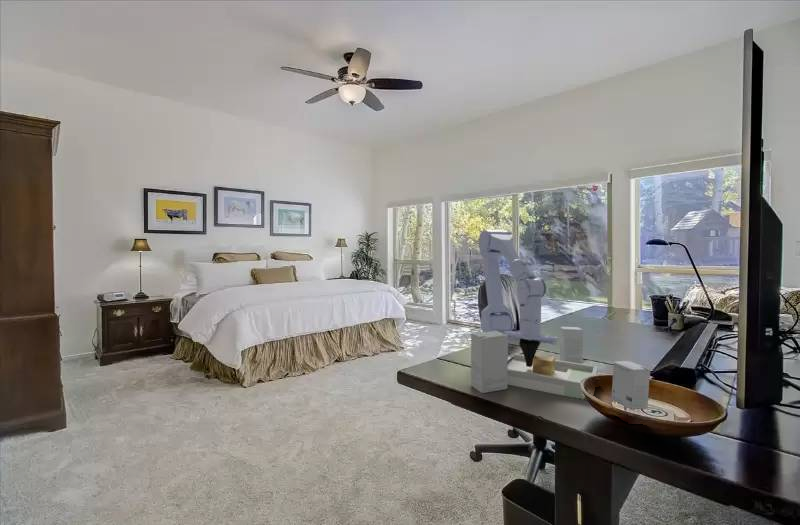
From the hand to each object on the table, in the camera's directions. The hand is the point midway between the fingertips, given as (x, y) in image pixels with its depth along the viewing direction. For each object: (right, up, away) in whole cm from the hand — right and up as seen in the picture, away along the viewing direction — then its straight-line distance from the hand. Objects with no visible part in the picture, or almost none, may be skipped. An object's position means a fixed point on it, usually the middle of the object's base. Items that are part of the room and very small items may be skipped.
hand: (529, 365), depth 107 cm
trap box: (+4, -4, -3) cm, 6 cm away
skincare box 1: (-14, -4, -8) cm, 17 cm away
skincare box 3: (+13, -5, -26) cm, 29 cm away
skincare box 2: (+19, -4, +14) cm, 24 cm away
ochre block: (+3, -1, -2) cm, 4 cm away
